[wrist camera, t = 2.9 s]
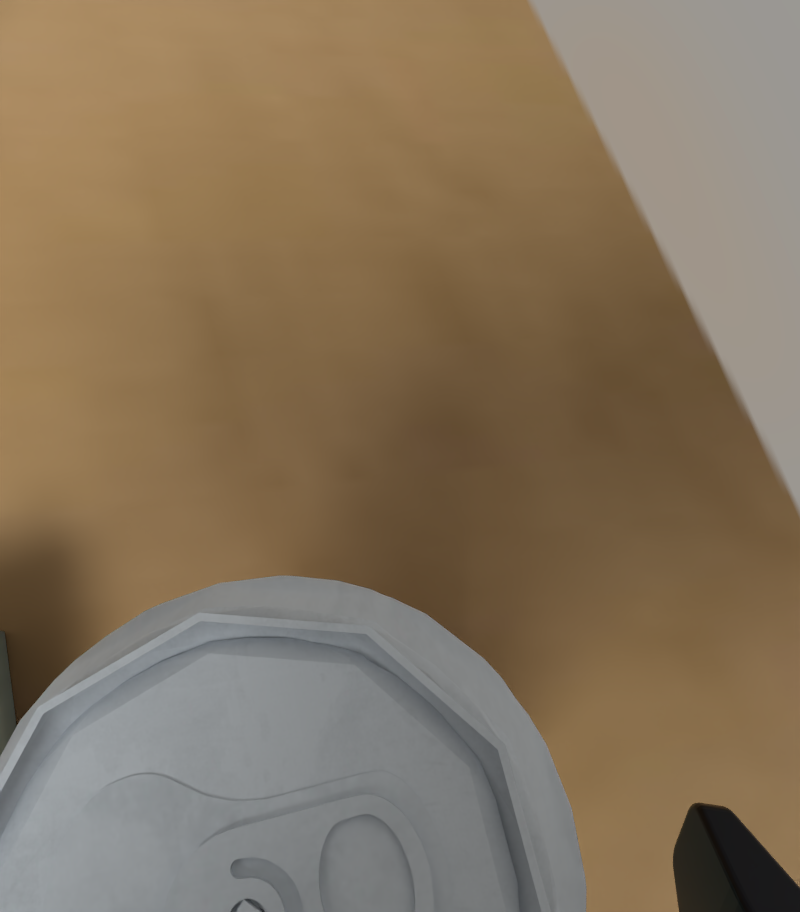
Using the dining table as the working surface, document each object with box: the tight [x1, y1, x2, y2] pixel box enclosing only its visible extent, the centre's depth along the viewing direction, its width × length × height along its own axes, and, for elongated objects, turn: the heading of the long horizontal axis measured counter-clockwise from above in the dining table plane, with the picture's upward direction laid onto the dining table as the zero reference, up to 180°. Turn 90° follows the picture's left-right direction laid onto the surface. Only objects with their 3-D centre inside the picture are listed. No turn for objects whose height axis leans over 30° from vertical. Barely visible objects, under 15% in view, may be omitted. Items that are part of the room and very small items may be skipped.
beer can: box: [0, 576, 586, 912], centre depth 10 cm, size 5×5×12 cm
